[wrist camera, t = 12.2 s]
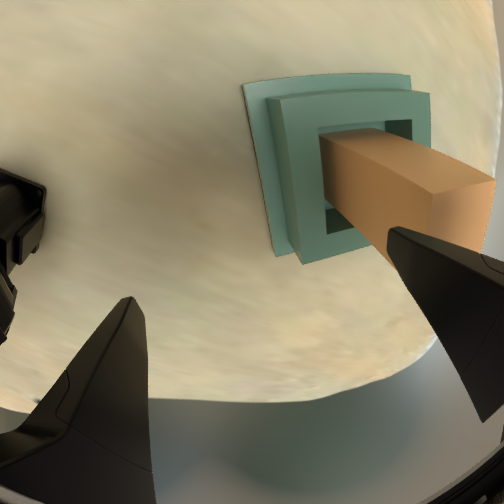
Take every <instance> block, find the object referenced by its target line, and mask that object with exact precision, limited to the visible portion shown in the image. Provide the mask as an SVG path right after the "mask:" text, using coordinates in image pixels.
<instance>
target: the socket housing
mask: <svg viewBox="0 0 504 504" xmlns="http://www.w3.org/2000/svg"><path fill="white" fill-rule="evenodd" d="M242 87H243V92H244V97H245V102H246V107H247V112H248V117H249V122H250V127H251V132H252V137H253V142H254V147H255V152H256V158H257V163H258V168H259V174H260V179H261V184H262V190H263V195H264V201H265V206H266V212H267V217H268V223H269V229H270V234H271V240H272V246H273V252H274V254H275V256H276V257H278V256H282V255H286V254H289V253H293V252H295V253H296V255H297V257H298V258H299V260H300V262H301V263H302V265H304V264H307V263H311V262H314V261H318V260H321V259H325V258H328V257H332V256H335V255H339V254H342V253H346V252H349V251H353V250H356V249H359V248H363V247H366V246H370V245H372V244H371V243H370V242H369V241H368V240H367V239H366V238H365V237H364V236H363V235H362V234H361V233H360V232H359V231H358V230H357V229H356V228H355V227H354V226H353V225H352V224H351V223H350V222H349V221H348V220H347V219H346V218H345V217H344V216H343V215H342V214H341V213H340V212H339V211H338V210H337V209H336V208H334V207H333V206H332V205H331V204H330V203H329V202H328V201H327V200H326V199H325V198H324V186H323V174H322V164H321V154H320V145H319V136H318V134H322V133H329V132H336V131H344V130H353V129H362V128H372V127H373V128H376V129H379V130H382V131H385V132H388V133H391V134H394V135H397V136H400V137H403V138H405V139H408V140H411V141H414V142H416V143H419V144H421V145H424V146H426V147H429V148H431V112H430V93H426V92H420V91H413V90H412V88H411V78H410V75H398V74H370V73H354V74H325V75H311V76H299V77H290V78H281V79H273V80H266V81H260V82H253V83H248V84H242Z"/></svg>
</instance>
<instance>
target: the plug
mask: <svg viewBox="0 0 504 504" xmlns="http://www.w3.org/2000/svg"><path fill="white" fill-rule="evenodd" d="M318 136H319V145H320V154H321V164H322V174H323V186H324V198H325V199H326V200H327V201H328V202H329V203H330V204H331V205H332V206H333V207H334V208H336V209H337V210H338V211H339V212H340V213H341V214H342V215H343V216H344V217H345V218H346V219H347V220H348V221H349V222H350V223H351V224H352V225H353V226H354V227H355V228H356V229H357V230H358V231H359V232H360V233H361V234H362V235H363V236H364V237H365V238H366V239H367V240H368V241H369V242H370V243H371V244H372V245H373V246H374V247H375V248H376V249H377V250H378V251H379V252H380V253H381V254H382V255H383V256H384V257H385V259H386V260H387V261H388V262H389V263H390V264H391V265H392V266H393V267H394V268H395V266H394V264H393V263H392V261H391V259H390V257H389V256H388V254H387V250H386V246H387V235H388V230H389V229H390V228H393V227H396V226H401V227H404V228H407V229H410V230H414V231H417V232H420V233H423V234H426V235H429V236H432V237H435V238H438V239H441V240H444V241H447V242H450V243H453V244H456V245H459V246H462V247H464V248H467V249H470V250H473V251H475V252H478V253H479V254H480V253H481V249H482V246H483V242H484V238H485V235H486V231H487V226H488V222H489V217H490V213H491V208H492V203H493V198H494V191H495V185H496V179H494V178H492V177H490V176H489V175H487V174H485V173H483V172H481V171H479V170H477V169H475V168H473V167H471V166H469V165H467V164H465V163H463V162H461V161H459V160H456V159H454V158H452V157H450V156H448V155H445V154H443V153H441V152H438V151H436V150H434V149H431V148H429V147H426V146H424V145H421V144H419V143H416V142H414V141H411V140H408V139H405V138H403V137H400V136H397V135H394V134H391V133H388V132H385V131H382V130H379V129H376V128H373V127H372V128H362V129H353V130H344V131H336V132H329V133H322V134H318ZM395 269H396V268H395Z"/></svg>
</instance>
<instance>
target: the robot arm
mask: <svg viewBox="0 0 504 504" xmlns="http://www.w3.org/2000/svg"><path fill="white" fill-rule="evenodd" d="M39 190H40V191H41V194H40V193H39ZM45 195H46V190H45V188H44V187H43V186H41V185H39V184H36V183H34V182H31V181H29V180H26V179H24V178H21V177H19V176H16V175H14V174H11V173H9V172H6V171H4V170H1V169H0V345H1V344H2V343H3V342H5V341H6V339H7V336H6V335H7V333H8V331H9V328H10V325H11V323H12V321H13V318H14V315H15V312H14V311H13V309H14V304H15V299H16V295H17V290H16V288H15V286H14V285H13V284H12V282H11V281H10V279H9V277H8V275H9V274H10V272H11V271H12V270H13V268H14V267H15V265H16V264H18V265H21V264H23V262H24V261H25V260H26V258H27V257H28V256H29V254H30V253H35V252H36V251H37V250H38V243H39V241H40V240H41V235H42V227H43V220H44V213H43V206H44V200H45ZM386 250H387V254H388V256H389V257H390V259H391V261H392V263H393V264H394V266H395V268H396V270H397V271H398V273H399V275H400V277H401V279H402V281H403V282H404V284H405V286H406V287H407V289H408V291H409V292H410V294H411V295H412V297H413V298H414V300H415V301H416V303H417V304H418V306H419V307H420V309H421V310H422V312H423V314H424V315H425V317H426V318H427V320H428V322H429V323H430V325H431V326H432V328H433V330H434V331H435V333H436V335H437V336H438V338H439V340H440V342H441V343H442V345H443V347H444V348H445V350H446V352H447V354H448V355H449V357H450V359H451V361H452V363H453V365H454V366H455V368H456V370H457V372H458V374H459V375H460V378H461V380H462V382H463V384H464V386H465V388H466V390H467V392H468V394H469V396H470V398H471V400H472V402H473V404H474V407H475V409H476V411H477V413H478V416H479V418H480V420H481V422H482V423H484V422H485V421H486V420H487V419H489V418H490V417H491V416H492V415H493V414H494V413H496V412H497V411H498V410H499V409H500V408H501V407H502V406H503V405H504V262H503V261H500V260H497V259H494V258H491V257H489V256H486V255H484V254H479V253H478V252H475V251H473V250H470V249H467V248H464V247H462V246H459V245H456V244H453V243H450V242H447V241H444V240H441V239H438V238H435V237H432V236H429V235H426V234H423V233H420V232H417V231H414V230H410V229H407V228H404V227H401V226H396V227H393V228H390V229H389V230H388V235H387V246H386ZM0 504H156V497H155V490H154V482H153V473H152V464H151V451H150V436H149V416H148V352H147V340H146V327H145V317H144V314H143V312H142V310H141V309H140V307H139V305H138V303H137V302H136V300H135V298H134V297H132V296H130V297H126V298H122V299H121V300H120V301H119V302H118V303H117V305H116V306H115V307H114V308H113V309H112V311H111V312H110V313H109V314H108V315H107V317H106V318H105V319H104V320H103V321H102V323H101V324H100V325H99V326H98V328H97V329H96V330H95V331H94V333H93V334H92V335H91V336H90V338H89V339H88V340H87V341H86V343H85V344H84V345H83V347H82V348H81V349H80V350H79V352H78V353H77V354H76V356H75V357H74V358H73V360H72V361H71V362H70V364H69V365H68V366H67V368H66V370H64V372H63V373H62V374H61V376H60V377H59V378H58V380H57V381H56V382H55V384H54V385H53V386H52V388H51V389H50V390H49V391H48V393H47V394H46V395H45V396H44V398H43V399H42V400H41V401H40V403H39V404H38V405H37V406H36V407H35V409H34V410H33V411H32V412H31V414H30V415H29V417H27V419H26V420H25V421H24V422H23V423H22V425H20V426H19V427H18V428H16V429H14V430H12V431H10V432H6V433H2V434H0ZM418 504H504V426H503V432H502V437H501V442H500V445H499V446H497V447H496V448H495V449H494V450H493V451H492V452H490V453H489V454H488V455H487V456H486V457H485V458H484V459H482V460H481V461H480V462H479V463H477V464H476V465H475V466H473V467H472V468H471V469H470V470H468V471H467V472H466V473H464V474H463V475H461V476H460V477H459V478H457V479H456V480H455V481H453V482H452V483H450V484H449V485H447V486H446V487H444V488H442V489H441V490H439V491H438V492H436V493H435V494H433V495H431V496H430V497H428V498H427V499H425V500H423V501H421V502H420V503H418Z"/></svg>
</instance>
